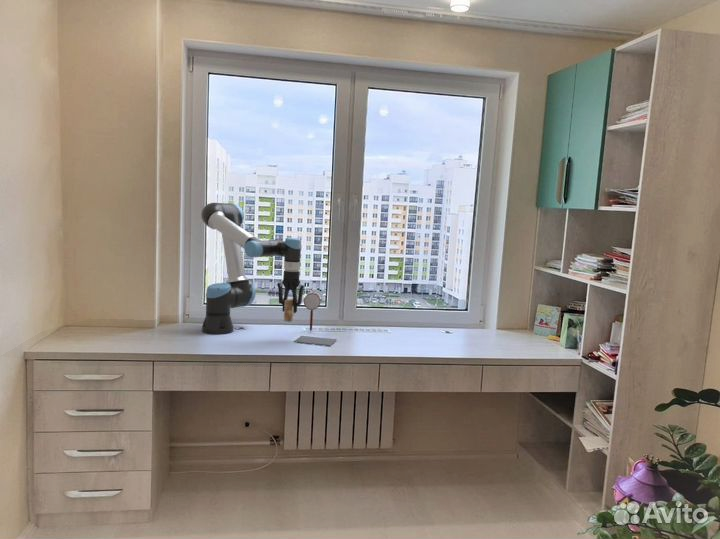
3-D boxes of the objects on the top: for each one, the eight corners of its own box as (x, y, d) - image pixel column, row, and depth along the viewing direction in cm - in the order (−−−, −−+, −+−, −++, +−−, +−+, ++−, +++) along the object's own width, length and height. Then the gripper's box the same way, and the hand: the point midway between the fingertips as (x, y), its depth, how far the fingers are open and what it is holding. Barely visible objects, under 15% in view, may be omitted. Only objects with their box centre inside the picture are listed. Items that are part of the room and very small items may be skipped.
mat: (293, 342, 245) (293, 341, 245) (301, 336, 257) (301, 335, 257) (330, 346, 242) (330, 345, 242) (336, 340, 254) (336, 339, 253)
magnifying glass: (319, 331, 271) (320, 293, 269) (319, 331, 269) (321, 293, 267) (302, 330, 270) (304, 292, 267) (302, 331, 268) (304, 293, 266)
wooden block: (283, 321, 247) (284, 300, 246) (288, 318, 254) (289, 298, 252) (289, 321, 246) (290, 301, 245) (294, 318, 253) (295, 298, 252)
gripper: (272, 269, 245) (270, 318, 248) (305, 272, 242) (302, 322, 245) (278, 268, 252) (276, 315, 255) (310, 271, 249) (307, 319, 252)
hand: (289, 318), depth 250 cm, fingers closed on wooden block, 3 cm apart
